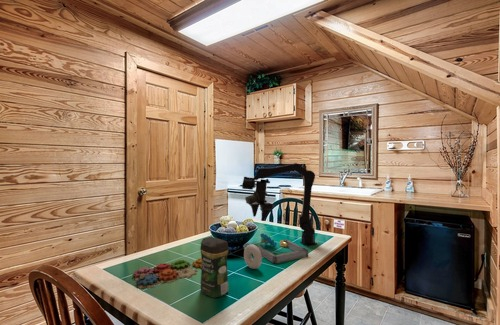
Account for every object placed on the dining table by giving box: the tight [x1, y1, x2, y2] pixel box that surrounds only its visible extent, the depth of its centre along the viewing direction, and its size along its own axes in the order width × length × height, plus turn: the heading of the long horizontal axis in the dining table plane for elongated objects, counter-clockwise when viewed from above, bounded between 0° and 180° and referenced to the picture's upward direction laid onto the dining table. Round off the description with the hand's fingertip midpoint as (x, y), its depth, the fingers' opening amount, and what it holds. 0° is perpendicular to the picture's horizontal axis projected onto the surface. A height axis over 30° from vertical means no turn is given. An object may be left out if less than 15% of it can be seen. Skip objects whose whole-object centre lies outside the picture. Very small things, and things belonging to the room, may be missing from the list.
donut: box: [243, 243, 263, 270], centre depth 110 cm, size 10×4×10 cm, turn 40°
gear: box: [258, 233, 278, 249], centre depth 136 cm, size 11×6×10 cm
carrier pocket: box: [257, 240, 309, 265], centre depth 126 cm, size 19×16×3 cm
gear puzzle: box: [132, 257, 202, 289], centre depth 107 cm, size 31×16×4 cm, turn 123°
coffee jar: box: [200, 235, 229, 299], centre depth 91 cm, size 10×8×19 cm
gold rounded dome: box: [279, 238, 292, 249], centre depth 139 cm, size 6×6×3 cm
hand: (258, 218), depth 145 cm, fingers open, 9 cm apart
